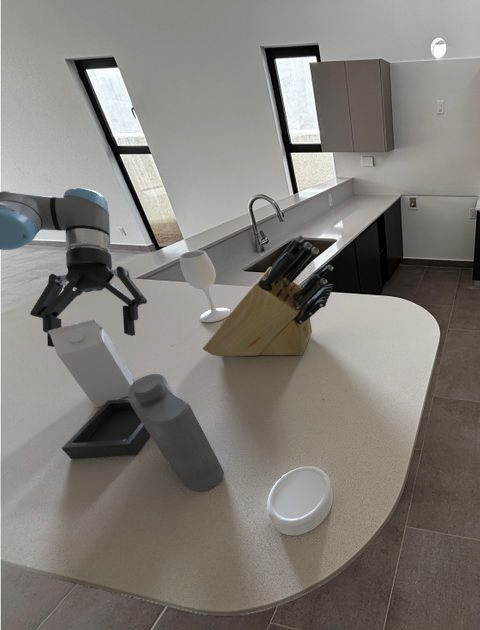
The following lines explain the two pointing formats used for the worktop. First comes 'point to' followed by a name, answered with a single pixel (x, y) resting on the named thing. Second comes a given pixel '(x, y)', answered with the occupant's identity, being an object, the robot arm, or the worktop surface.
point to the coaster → (300, 500)
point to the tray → (109, 433)
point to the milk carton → (92, 361)
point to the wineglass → (202, 280)
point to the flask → (175, 432)
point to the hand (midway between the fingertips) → (93, 340)
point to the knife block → (275, 309)
